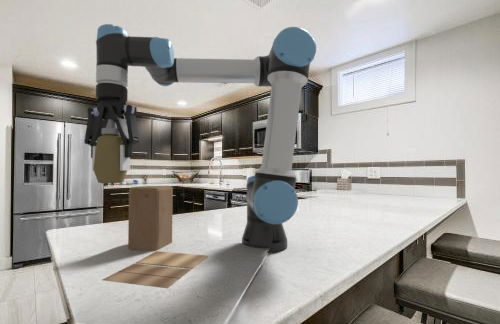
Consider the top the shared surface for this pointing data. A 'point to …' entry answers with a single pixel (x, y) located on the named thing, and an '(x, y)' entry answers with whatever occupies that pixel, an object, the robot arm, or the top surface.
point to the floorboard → (148, 275)
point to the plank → (173, 259)
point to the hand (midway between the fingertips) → (111, 170)
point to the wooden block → (150, 217)
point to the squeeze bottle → (109, 155)
